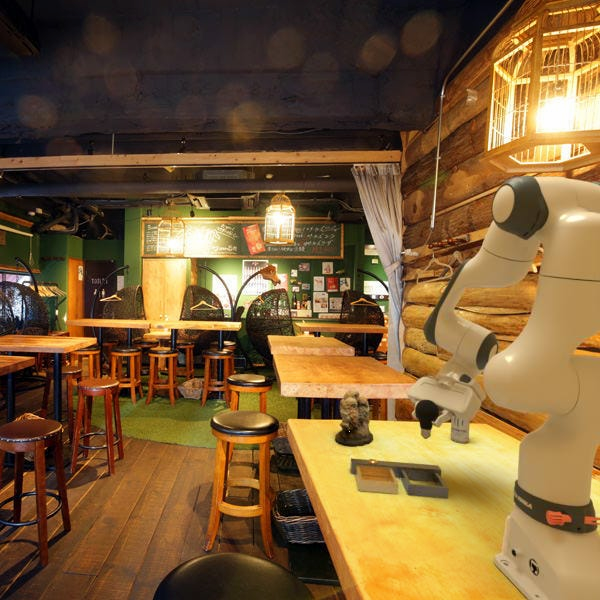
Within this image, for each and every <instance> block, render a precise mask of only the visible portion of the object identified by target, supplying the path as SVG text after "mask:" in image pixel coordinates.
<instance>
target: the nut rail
mask: <svg viewBox="0 0 600 600" xmlns="http://www.w3.org/2000/svg"><path fill="white" fill-rule="evenodd" d="M349 466H350V467H349V470H350V474H351V475H355V479H356V483H357V489H358V491H359V492H367V493H379V494H390V495H391V494H392V495H399V481H398V480H397V478H399V479H400V478H401V479H400V480H401V483H402V485H403V488H404V489H405V492H406V494H407V496H413V497H415V496H417V497H424V498H425V497H426V498H436V497H437V498H438V499H448V498H449V487H448V486H447V484H446V482H445V481H444V480H443V478H442V469H441V467H440V466H439V465H438V464H423V463H414V462H413V463H412V462H398V461H389V460H388V461H387V460H378V459H376V458H370V459H364V458H363V459H362V458H352V457H351V458H350V465H349ZM410 479H411V480H410ZM417 480H419V482H429V481H431V482H432V483H434V482H435V483H434V484H435V485H430V484H422V483H421V484H419V483H411V481H417ZM431 482H430V483H431Z"/></svg>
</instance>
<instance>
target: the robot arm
mask: <svg viewBox="0 0 600 600" xmlns="http://www.w3.org/2000/svg"><path fill="white" fill-rule="evenodd" d="M490 209H491V210H490V211H491V218H492V221H491V224H490V226H489V227H488V229H487V231H486V233H485V236H484V239H483V241H482V245H481V247H480V249H479V251H478V252H477V253H476V254H475V255H474V257H472V258H466V259H465V260H463V261H462V262H461V263H460V264H459V266H458V267H457V268H456V270H454V273H453V275H452V276H451V278H450V279H449V281H448V283H447V284H446V287H445V288H444V290H443V292H442V294H441V295H440V297H439V299H438V301H437V303H436V305H435V307H434V308H433V310H432V311H431V313H430V314H429V316H428V317H427V318H426V320H425V322H424V323H423V327H422V332H423V335H424V338H425V340H426V342H427V343H429V344H431V345H433V346H437V347H438V348H441V349H443V350H445V351H447V352H449V353H451V355H452V356H451V358H450V359H448V360H447V361H446V362H445V363H444V365H443V366H442V367H441V369H440V370H439V371H438V372H437V374H436V375H435V376H433V375H427V376H422V377H420V378H419V379H418V380H417V381H416V382H415V383H413V385H412V386H411V387H410V388H409V389H408V390H407V392H406V396H407V398H408V399H409V400H410V402H412V403H413V404H414V408H415V407H416V405H417V403H418V402H420V401H421V400H431V401H433V402H434V403H435V404H436V405H437V407H438V409H439V413H442V414H439V415H438V418H437V417H434V420H432V424H433V427H436V428H441V426H442V425H443V424H444V423H446V422H448V421H450V420H451V418H452V416H453V417H456V418H458V419H461V420H464V421H469V420H470V421H472V420H474V419H475V417H476V415H477V414H478V412H479V411H480V408H481V407H482V402H484V401H485V399H486V397H488V398H489V399H490V400H491V402H493V404H495V405H496V406H497V407H500V408H504V409H507V410H511V411H514V412H515V411H516V412H519V413H524V414H540V415H547V417H546V419H545V421H544V422H543V423H542V424H541V425H540V426H539V427H538V428H536V429H535V430H533V431H530V432H529V433H527V434H526V435H524V436H523V437H522V439H521V441H520V442H519V445H518V446H519V447H518V461H517V462H518V465H517V466H518V467H517V479H516V480H515V482H514V487H513V502H514V506H513V508H512V510H511V511H510V513H509V514H507V516H506V519H505V524H504V531H503V538H502V544H501V551H500V552H499V553H497V554H495V556H494V558H493V564H494V565H495V567H497V568H498V569H499V570H500V571H501V572H502V573H503V574H504V575H505V577H507V579H508V580H509V581H511V583H512V584H513V585H514V586H515V587H516V588H517V589H518V591H520V592H521V593H522V595H524V596H525V598H526V599H527V600H600V534H599V532H598V526H600V522H598V521H600V517H599V516H598V517H597V516H596V515H597V514H596V513H597V512H596V509H595V506H594V503H593V500H592V499H591V494H592V493H591V491H592V479H593V478H592V476H593V468H594V460H595V456H596V453H597V451H598V448H599V446H600V356H597V355H590V354H574V353H575V351H576V350H577V348H579V346H580V345H581V344H582V343H583V342H584V341H586V340H588V339H589V338H591V337H593V336H595V335H598V334H600V182H598V181H586V180H579V179H571V178H567V177H563V176H532V175H522V176H514V177H512V178H508V179H506V180H505V181H504V182H502V183H501V185H500V186H499V187H498V188H497V190H496V191H495V193H494V195H493V198H492V201H491V208H490ZM541 245H542V249H543V252H542V258H541V262H540V268H539V275H538V280H537V286H536V291H535V296H534V300H533V304H532V308H531V312H530V316H529V318H528V320H527V323H526V324H525V326H524V327H523V328H522V331H521V332H520V333H519V335H518V336H517V337H516V338H515V340H514V341H513V342H511V344H509V345H508V346H507V347H506V348H505V349H503V350H501V351H499V345H500V344H499V343H498V339H497V337H496V335H495V333H494V332H492V331H491V330H489V329H487V328H486V327H483V326H481V325H479V324H477V323H474V322H472V321H470V320H468V319H466V318H463V317H462V316H460V315H458V314H457V313H456V312H455V308H457V307H456V306H457V305H458V303H459V302H460V300H461V298H462V296H463V295H464V293H465V291H466V290H467V289H470V288H471V289H472V288H487V289H501V288H502V289H504V288H507V287H511V286H514V285H517V284H518V283H519V282H521V281H522V280H523V279H525V277H526V276H527V275H528V273H529V271H530V269H531V267H532V266H533V264H534V261H535V260H536V257H537V255H538V252H539V249H540V246H541ZM481 374H482V384H483V387H484V389H483V387H482V386H481V385H480V384H479V382H478V381H477V380H478V377H479V376H480V375H481ZM411 416H412V417H413V419H416V420H418V418H417V416H416V414H415V409H414V410H413V411H412V413H411Z"/></svg>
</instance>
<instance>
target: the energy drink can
mask: <svg viewBox="0 0 600 600" xmlns="http://www.w3.org/2000/svg"><path fill="white" fill-rule="evenodd" d="M450 420H451V421H450V438H451V440H452V441H453V440H454V441H453V442H455V441H456V442H455V443H458V442H459V444H467V443H468V441H469V440H470V424H471V422H470V421H471V420H469V421H464V420H461V419H458V418H456V417H453V416H452V418H451V419H450Z"/></svg>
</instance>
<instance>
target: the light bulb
mask: <svg viewBox="0 0 600 600" xmlns="http://www.w3.org/2000/svg"><path fill="white" fill-rule="evenodd" d="M414 410H415V414H416V416H417V418H418V419H417V420H418V421H419V427H420V436H421V437H422V438H423V439H424V440H427V439H429V438H430V437H431V436H432V435H431V433H432V429H433V427H434V425H433V424H432V420H434V417H437V418H438V417H439V416H440V412H439V409H438V407H437V405H436V404H435V403H434V402H433V401H431V400H421V401H420V402H418V403H417V405H416V407H415V406H414Z"/></svg>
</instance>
